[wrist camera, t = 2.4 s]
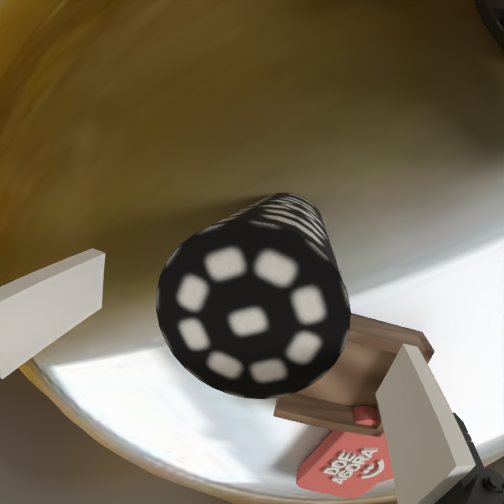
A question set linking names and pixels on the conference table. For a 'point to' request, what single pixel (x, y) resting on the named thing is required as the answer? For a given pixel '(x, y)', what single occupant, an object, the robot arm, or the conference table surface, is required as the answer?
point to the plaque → (347, 461)
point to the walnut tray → (353, 378)
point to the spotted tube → (256, 300)
